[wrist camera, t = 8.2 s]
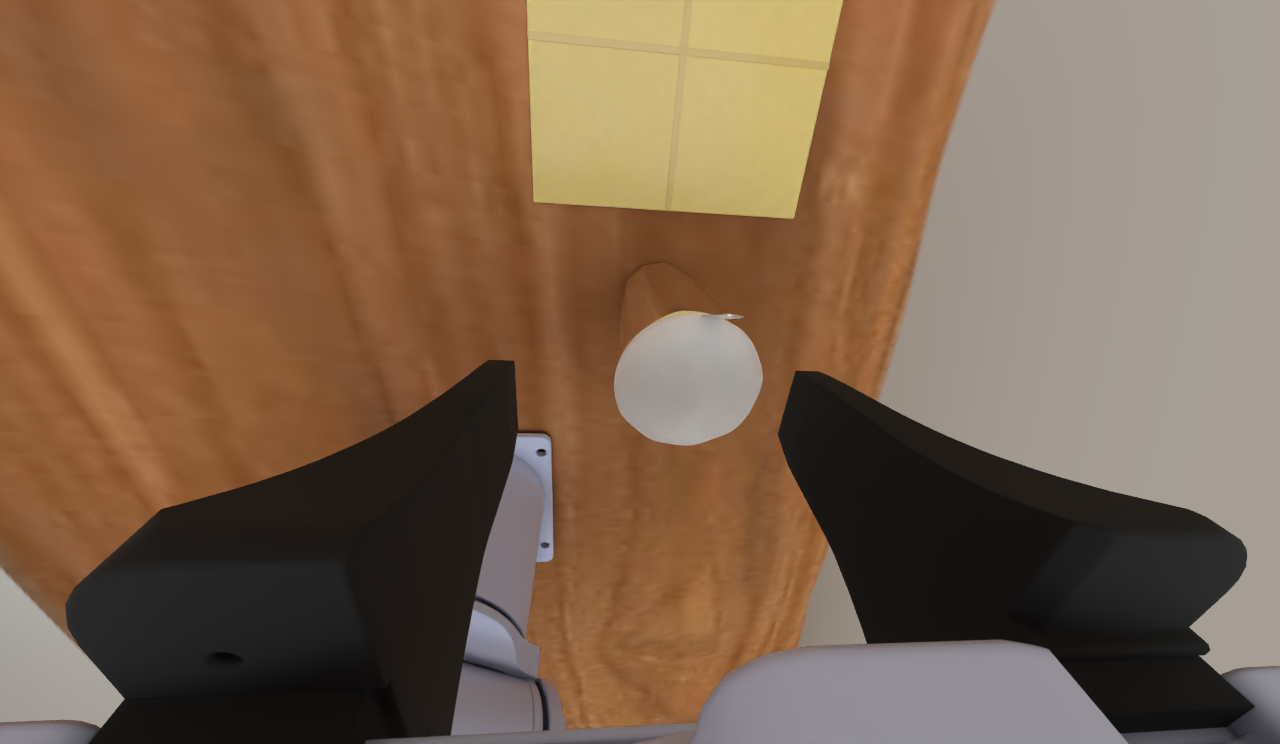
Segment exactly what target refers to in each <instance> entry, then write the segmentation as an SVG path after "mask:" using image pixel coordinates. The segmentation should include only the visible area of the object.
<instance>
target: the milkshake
mask: <svg viewBox="0 0 1280 744" xmlns="http://www.w3.org/2000/svg"><path fill="white" fill-rule="evenodd" d="M738 318H744V317H743V316H739V315H734V314H723V313H722V312H721V311H720V310H719V309H718V308H717V307H716V306H715V305H714V304H713V303H712V301H711V300H710V299H709V298H708V297H707V296H706V295H705V294H704V293H703V292H702V291H701V289H700V288H699V287H698V286H697V285H696V284H695V283H694V282H693V281H692V280H691V279H690V278H689V277H688V275H687V274H686V273H684V272H682V271H680V270H679V269H677V268H675V267H673V266H672V265H670V264H668V263H667V262H664V263H656V264H647V265H643V266H642V267H641V268H639V269H638V270H637V271H636V272H635V273H634V274H633V275H632V276H631V277H629V278H628V279H627V280H626V285H625V290H624V294H623V299H622V307H621V325H620V341H619V348H618V355H617V363H616V371H615V378H614V393H615V399H616V403H617V406H618V409H619V411H620V413H621V415H622V416H623V417H624V419H625V420H626V421H627V422H628V423H630V424H631V425H632V426H633V427H634V428H636V429H637V430H638V431H639V432H640V433H642V434H643V435H644V436H646V437H648V438H649V439H651V440H654V441H657V442H662V443H668V444H675V445H685V446H688V445H696V444H700V443H703V442H706V441H708V440H711V439H714V438H717V437H720V436H723V435H725V434H727V433H729V432H731V431H733V430H734V429H735V428H737V427H738V426H739V425H740V424H741V423H742V422H743V421H744V419H745V418H746V417H747V415H748V414H749V412H750V411H751V409H752V407H753V405H754V403H755V401H756V399H757V397H758V395H759V392H760V389H761V386H762V380H763V374H762V368H761V363H760V360H759V357H758V354H757V352H756V349H755V347H754V345H753V343H752V342H751V340H750V339H749V337H748V336H747V335H746V334H745V333H744V332H743V331H742V330H741V329H740V328H738V327H737V326H736V325H735V324H734V323H733V322H732V321H731V320H730V319H738Z"/></svg>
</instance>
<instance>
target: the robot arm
mask: <svg viewBox="0 0 1280 744" xmlns="http://www.w3.org/2000/svg"><path fill="white" fill-rule="evenodd" d="M778 436H779V439H780V443H781V446H782V449H783V452H784V455H785V457H786V460H787V463H788V466H789V468H790V470H791V472H792V474H793V476H794V478H795V480H796V482H797V483H798V485H799V487H800V489H801V491H802V493H803V495H804V497H805V499H806V501H807V502H808V504H809V506H810V508H811V510H812V512H813V514H814V516H815V518H816V519H817V521H818V523H819V525H820V527H821V529H822V531H823V533H824V534H825V536H826V538H827V541H828V543H829V545H830V547H831V549H832V551H833V553H834V555H835V558H836V560H837V563H838V566H839V568H840V571H841V573H842V576H843V578H844V581H845V583H846V586H847V588H848V591H849V594H850V596H851V599H852V602H853V604H854V607H855V610H856V613H857V616H858V619H859V621H860V624H861V627H862V630H863V633H864V636H865V638H866V642H867V644H856V645H855V644H853V645H824V646H806V647H800V648H795V649H789V650H784V651H778V652H773V653H768V654H763V655H761V656H759V657H757V658H755V659H753V660H751V661H750V662H748V663H746V664H744V665H742V666H740V667H738V668H736V669H734V670H732V671H730V672H728V673H727V674H726V675H725V676H724V678H723V679H722V680H721V682H720V683H719V684H718V685H717V687H716V688H715V689H714V691H713V692H712V693H711V695H710V696H709V697H708V699H707V700H706V702H705V703H704V705H703V706H702V709H701V712H700V716H699V719H698V723H682V724H663V725H643V726H624V727H605V728H586V729H566V724H565V719H564V715H563V710H562V705H561V700H560V697H559V695H558V692H557V689H556V688H555V686H554V685H553V684H552V683H551V682H550V681H548V680H547V679H545V678H540V677H537V676H538V667H539V657H540V647H539V646H538V645H535V644H532V643H530V642H529V641H527V640H526V633H527V626H528V618H529V611H530V604H531V596H532V589H533V581H534V574H535V567H536V562H547V561H550V560H551V559H552V558H553V555H554V539H553V494H552V449H551V438H550V437H549V436H548V435H546V434H542V433H518V417H517V399H516V382H515V364H514V361H503V360H488V361H487V362H485V363H484V364H482V365H481V366H480V367H478V368H477V369H476V370H474V371H473V372H472V373H470V374H469V375H468V376H467V377H465V378H464V379H463V380H461V381H460V382H459V383H457V384H456V385H454V386H453V387H452V388H450V389H449V390H448V391H446V392H445V393H444V394H442V395H441V396H439V397H438V398H436V399H435V400H433V401H432V402H430V403H429V404H427V405H426V406H424V407H423V408H421V409H420V410H418V411H416V412H415V413H413V414H412V415H410V416H409V417H407V418H405V419H404V420H402V421H400V422H398V423H397V424H395V425H393V426H391V427H389V428H387V429H386V430H384V431H382V432H380V433H378V434H376V435H374V436H372V437H370V438H368V439H366V440H364V441H362V442H360V443H357V444H355V445H353V446H350V447H348V448H346V449H343V450H341V451H339V452H337V453H334V454H332V455H330V456H327V457H325V458H323V459H321V460H318V461H315V462H313V463H310V464H308V465H305V466H302V467H300V468H297V469H294V470H291V471H289V472H286V473H283V474H280V475H277V476H274V477H271V478H268V479H265V480H262V481H259V482H256V483H253V484H250V485H247V486H243V487H240V488H237V489H233V490H229V491H226V492H222V493H219V494H215V495H212V496H208V497H205V498H201V499H197V500H194V501H190V502H187V503H183V504H180V505H176V506H172V507H168V508H164V509H161V510H160V511H159V512H158V513H157V514H156V515H154V516H153V517H152V518H151V519H150V520H149V521H148V522H147V523H146V524H144V525H143V526H142V527H141V528H140V529H139V530H138V531H137V532H136V533H134V534H133V535H132V536H131V537H130V538H129V539H128V540H127V541H126V542H124V543H123V544H122V545H121V546H120V547H119V548H118V549H117V550H116V551H114V552H113V553H112V554H111V555H110V556H109V557H108V558H107V559H106V560H104V561H103V562H102V563H101V564H100V565H99V566H98V567H97V568H96V569H94V570H93V571H92V572H91V573H90V574H89V575H88V576H87V577H86V578H85V579H83V580H82V581H81V582H80V583H79V584H78V585H77V586H76V587H75V588H74V589H73V591H72V593H71V595H70V596H69V598H68V600H67V602H66V604H65V606H66V617H67V625H68V629H69V631H70V632H71V634H72V636H73V637H74V639H75V640H76V642H77V644H78V645H79V647H80V648H81V649H82V650H83V651H84V652H85V653H86V655H87V656H88V657H89V658H90V659H91V660H92V661H93V663H94V664H95V665H96V666H97V667H98V668H99V670H100V671H101V672H102V673H103V674H104V675H105V676H106V678H107V679H108V680H109V681H110V682H111V683H112V684H113V686H114V687H115V688H116V689H117V690H118V691H119V693H120V694H121V695H122V696H123V697H124V698H125V699H124V701H123V702H122V703H121V704H120V706H119V707H118V708H117V709H116V710H115V712H114V713H113V714H112V715H111V717H110V718H109V719H108V720H107V722H106V723H105V724H104V725H103V727H102V728H100V727H98V726H96V725H93V724H89V723H86V722H82V721H73V720H49V721H25V722H3V723H0V744H1280V666H1270V667H1247V668H1239V669H1235V670H1231V671H1229V672H1226V673H1223V674H1221V675H1220V674H1218V673H1217V672H1216V671H1215V670H1214V669H1213V668H1212V667H1211V666H1210V665H1208V664H1207V663H1206V662H1205V661H1204V660H1203V659H1202V658H1201V657H1199V656H1198V655H1205V654H1207V653H1208V652H1209V651H1210V648H1209V645H1208V644H1207V643H1206V642H1205V641H1204V640H1203V639H1202V638H1201V637H1199V636H1198V635H1197V634H1196V633H1195V632H1194V631H1192V630H1191V629H1190V628H1189V626H1191V625H1192V624H1193V623H1194V622H1195V621H1196V620H1197V619H1198V618H1199V617H1201V616H1202V614H1204V613H1205V612H1206V611H1207V610H1208V609H1209V608H1210V607H1211V606H1212V605H1214V604H1215V603H1216V602H1217V601H1218V600H1219V599H1220V598H1221V597H1222V596H1223V595H1224V594H1226V593H1227V592H1228V591H1229V590H1230V588H1231V587H1232V586H1233V585H1234V584H1235V583H1236V582H1237V581H1238V580H1239V578H1240V576H1241V575H1242V573H1243V571H1244V569H1245V567H1246V560H1247V550H1246V548H1245V546H1244V544H1243V543H1242V541H1241V540H1240V539H1239V538H1237V537H1236V536H1234V535H1233V534H1231V533H1229V532H1228V531H1227V530H1225V529H1224V528H1222V527H1221V526H1219V525H1218V524H1216V523H1215V522H1213V521H1212V520H1210V519H1208V518H1207V517H1205V516H1203V515H1201V514H1198V513H1196V512H1194V511H1191V510H1189V509H1185V508H1180V507H1176V506H1172V505H1167V504H1163V503H1159V502H1154V501H1150V500H1146V499H1141V498H1137V497H1133V496H1129V495H1124V494H1119V493H1115V492H1111V491H1108V490H1104V489H1100V488H1096V487H1093V486H1089V485H1086V484H1082V483H1079V482H1075V481H1071V480H1068V479H1064V478H1061V477H1057V476H1054V475H1051V474H1048V473H1045V472H1041V471H1038V470H1035V469H1032V468H1029V467H1026V466H1023V465H1021V464H1018V463H1015V462H1012V461H1009V460H1006V459H1003V458H1000V457H997V456H995V455H992V454H990V453H987V452H984V451H981V450H979V449H976V448H974V447H972V446H969V445H967V444H964V443H962V442H960V441H957V440H955V439H953V438H950V437H948V436H945V435H943V434H941V433H939V432H937V431H934V430H932V429H930V428H928V427H926V426H924V425H922V424H920V423H918V422H916V421H914V420H912V419H910V418H908V417H906V416H903V415H902V414H900V413H898V412H896V411H894V410H892V409H890V408H889V407H887V406H885V405H883V404H881V403H879V402H877V401H876V400H874V399H872V398H870V397H868V396H866V395H865V394H863V393H861V392H859V391H857V390H855V389H854V388H852V387H850V386H848V385H846V384H844V383H842V382H840V381H838V380H836V379H834V378H832V377H830V376H828V375H826V374H823V373H821V372H817V371H795V375H794V379H793V382H792V386H791V389H790V393H789V396H788V400H787V403H786V407H785V411H784V414H783V418H782V421H781V425H780V428H779V432H778ZM538 449H544V450H545V452H540V451H538ZM543 542H546V543H543Z"/></svg>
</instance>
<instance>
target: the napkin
mask: <svg viewBox="0 0 1280 744" xmlns="http://www.w3.org/2000/svg"><path fill="white" fill-rule="evenodd" d="M526 1H527V30H528V31H527V38H528V59H529V88H530V117H531V146H532V175H533V201H534V202H538V203H553V204H569V205H584V206H600V207H615V208H631V209H647V210H662V211H678V212H693V213H709V214H724V215H740V216H756V217H771V218H787V219H794V216H795V211H796V207H797V203H798V198H799V194H800V189H801V185H802V180H803V176H804V172H805V167H806V163H807V158H808V154H809V149H810V145H811V141H812V136H813V132H814V127H815V123H816V118H817V114H818V110H819V105H820V101H821V96H822V92H823V87H824V83H825V79H826V74H827V70H828V69H829V64H830V62H829V61H830V56H831V52H832V48H833V43H834V39H835V34H836V30H837V25H838V21H839V17H840V12H841V8H842V3H843V0H526Z"/></svg>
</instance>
